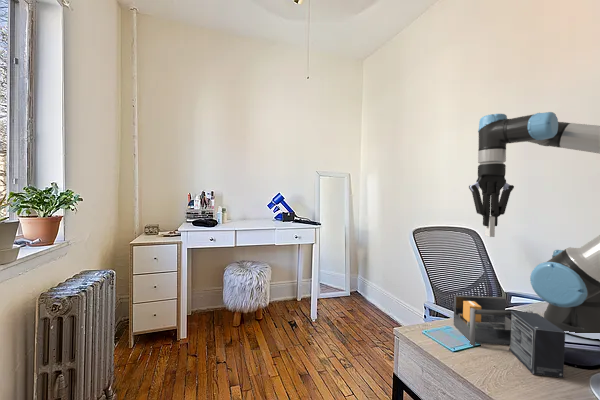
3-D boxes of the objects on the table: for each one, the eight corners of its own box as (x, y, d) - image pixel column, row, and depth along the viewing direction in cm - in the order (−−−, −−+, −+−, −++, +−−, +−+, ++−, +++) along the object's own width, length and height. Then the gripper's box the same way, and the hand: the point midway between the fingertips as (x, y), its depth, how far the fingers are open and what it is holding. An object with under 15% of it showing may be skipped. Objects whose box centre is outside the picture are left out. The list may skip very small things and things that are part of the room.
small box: (566, 379, 63) (568, 332, 62) (532, 375, 64) (533, 329, 64) (537, 352, 73) (538, 312, 73) (508, 349, 74) (509, 309, 74)
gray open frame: (529, 347, 76) (530, 310, 75) (532, 349, 74) (533, 312, 74) (468, 343, 77) (469, 308, 77) (470, 346, 76) (471, 309, 76)
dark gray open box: (502, 327, 87) (503, 297, 86) (525, 345, 76) (526, 311, 76) (452, 324, 88) (453, 295, 88) (469, 342, 78) (469, 309, 77)
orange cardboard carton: (473, 317, 83) (474, 300, 83) (481, 323, 79) (481, 306, 79) (462, 317, 84) (463, 300, 83) (469, 323, 80) (469, 305, 80)
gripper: (505, 164, 96) (504, 234, 97) (464, 165, 97) (463, 234, 98) (520, 162, 89) (518, 238, 89) (476, 162, 90) (474, 237, 91)
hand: (489, 236), depth 94 cm, fingers closed
